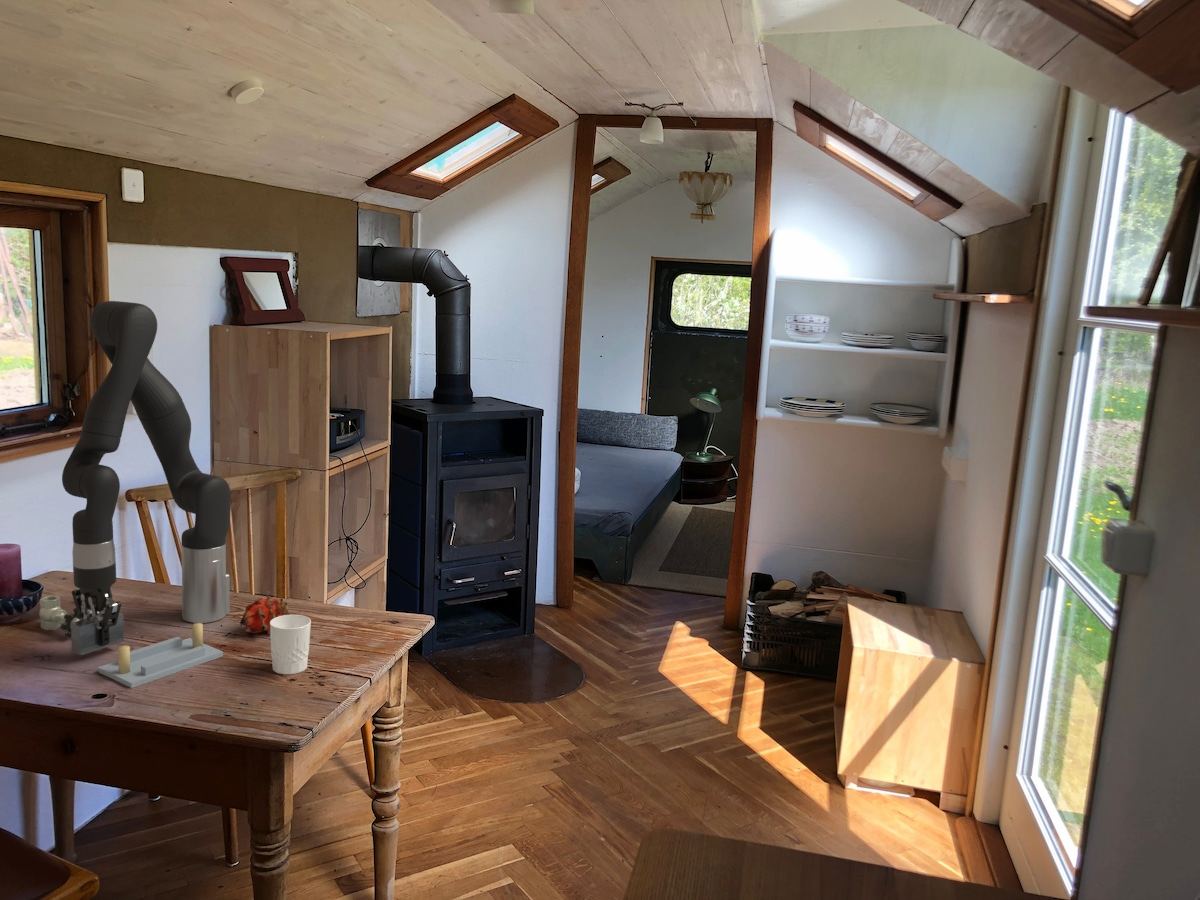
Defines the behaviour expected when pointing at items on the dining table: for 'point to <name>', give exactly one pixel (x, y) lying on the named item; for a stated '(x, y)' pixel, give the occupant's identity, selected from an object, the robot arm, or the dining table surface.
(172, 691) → the dining table surface
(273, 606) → the dragon fruit
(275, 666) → the white cup
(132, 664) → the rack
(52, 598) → the valve
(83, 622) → the gray rectangular block
